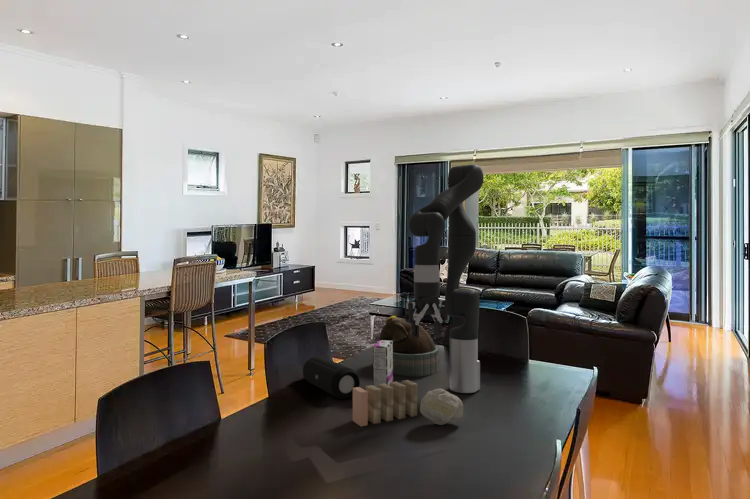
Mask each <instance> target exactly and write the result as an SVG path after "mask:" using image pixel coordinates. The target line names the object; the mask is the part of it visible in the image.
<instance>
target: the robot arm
mask: <svg viewBox="0 0 750 499" xmlns="http://www.w3.org/2000/svg"><path fill="white" fill-rule="evenodd" d="M483 184H484V172H483V170H482V168H481V166H479V165H477V164H464V165H458V166H457V165H456V166H452V167H451V168H450V169H449V171H448V174H447V189H445V190H443V191H442V192H440V193H439V194H437V195H436V196H435V197H434V198H433V200H431V201H430V203H429V204H427V205H425V206H423V207H422V208H420V209H419V210H416V211H415V212H414V213H413V214H412V215H411V217H410V218H409V222H408V230H409V232H410V233H411V234H412V236H414V237H418V238H419V237H425V238H426V237H428V238H427V240H426V242H425V243H423V244H419V245H416V247H415V248H414V269H413V295H414V300H413V301H412V302H411V301H406V302H404V312H405V314H404V319H405V321H406V322H408V323H410V324H411V325H412V336H413V337H414V338H419V325H420V321H422V319H423V318H424V316H428V315H429V316H431V317H432V319H433V321H434V322H433V334H434V336H437V337H440V336H441V334H442V324H443V322H444V321H445V322H446V321H447V320H448V316H449V317H452V318H455V317H456V318H465V319H464V322H463V324H461V325H459V326H456V327H451V329H450V330H449V390H450V391H452V392H455V393H460V394H472V393H476V392H478V391H479V390H481V361H480V360H478V358H479V357H478V356H479V353H478V348H479V345H478V344H479V343H478V342H479V340H478V338H479V337H478V336H479V334H478V333H479V326H480V325H479V323H480V322H479V321H480V320H479V319H480V303H481V302H480V296H479V293H478V292H477V291H476V290H474V289H460V282H461V279H462V275H463V273H464V271H465V270H466V267H467V266H468V265H469V263H470V262H471V260H472V259H473V257H474V254H475V253H476V248H477V247H476V245H477V244H476V243H477V232H476V231H477V230H476V228H475V226H474V224H473V223H472V222H473V221H471V219H470V217H469V215H468V214H467V213H466V210H465V208H464V204H463V203H464V201H466V200H468V199H469V198H470V197H471V196H473V195H474V194H475V193H477V192H478V191H479V190H480V189H481V188H482V187H483ZM447 219H448V234H447V235H448V238H447V274H446V275H447V277H446V282H445V284H446V286H445V293H444V299H439V297H440V295H441V294H440V290H441V288H440V284H441V282H440V281H441V280H440V277H441V276H440V274H441V273H440V265H439V264H440V262H439V260H440V258H439V256H440V255H439V254H440V253H439V252H440V247H441V242H442V241H443V240H442V239H443V236H444V232H445V228H446V221H447ZM438 308H439V309H438ZM414 309H415V310H414Z"/></svg>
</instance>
